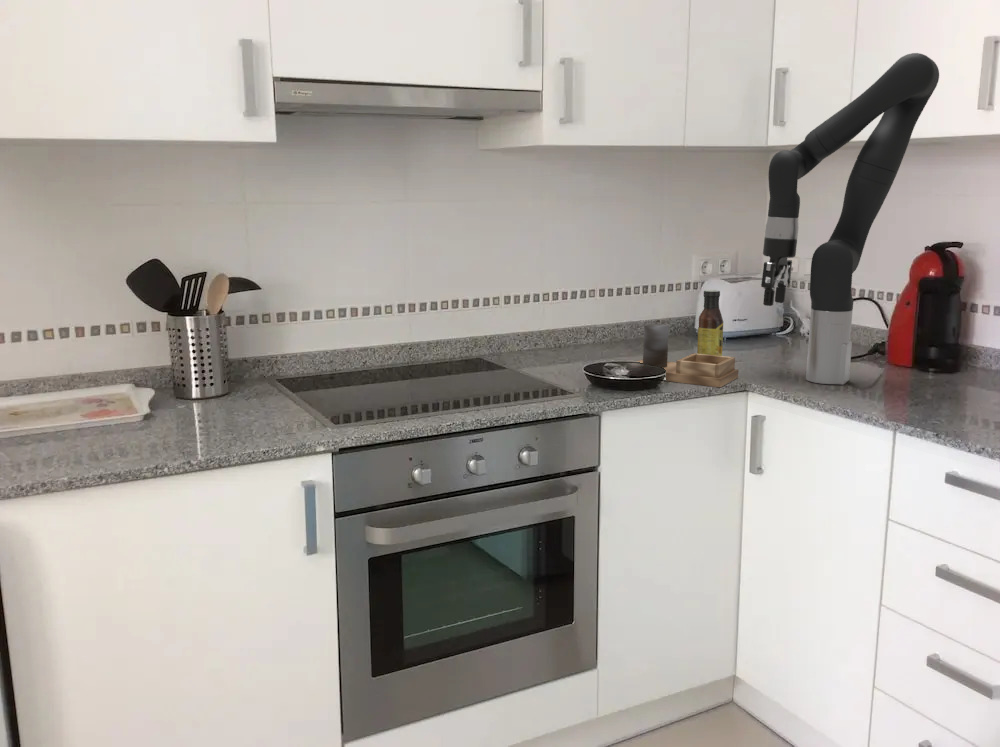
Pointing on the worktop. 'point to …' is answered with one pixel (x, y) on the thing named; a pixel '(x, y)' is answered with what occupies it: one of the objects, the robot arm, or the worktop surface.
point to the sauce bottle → (710, 325)
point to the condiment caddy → (686, 361)
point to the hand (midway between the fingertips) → (773, 304)
